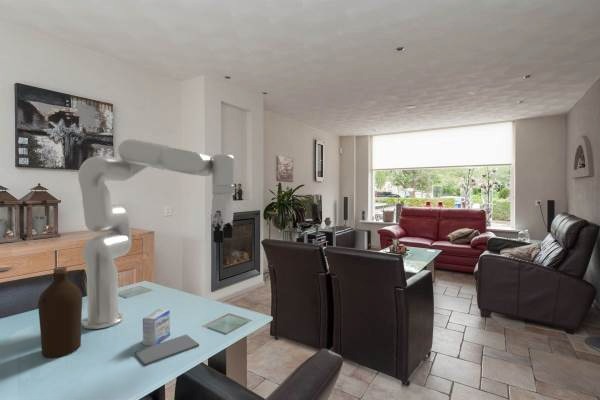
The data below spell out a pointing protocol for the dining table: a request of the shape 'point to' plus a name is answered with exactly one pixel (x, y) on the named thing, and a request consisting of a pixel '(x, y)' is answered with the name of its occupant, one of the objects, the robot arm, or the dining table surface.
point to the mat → (165, 349)
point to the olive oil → (60, 316)
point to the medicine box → (156, 327)
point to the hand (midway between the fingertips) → (223, 240)
